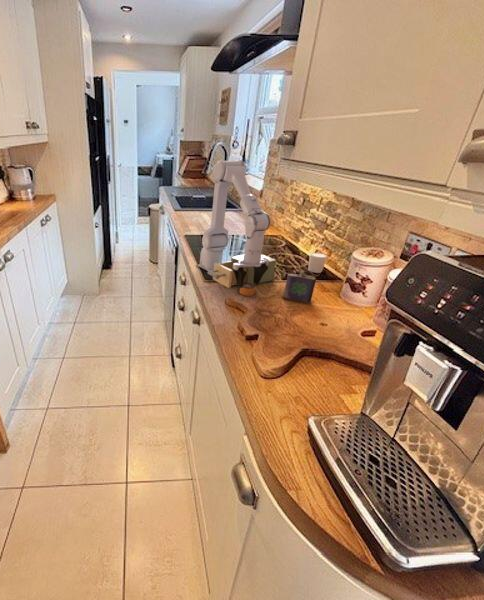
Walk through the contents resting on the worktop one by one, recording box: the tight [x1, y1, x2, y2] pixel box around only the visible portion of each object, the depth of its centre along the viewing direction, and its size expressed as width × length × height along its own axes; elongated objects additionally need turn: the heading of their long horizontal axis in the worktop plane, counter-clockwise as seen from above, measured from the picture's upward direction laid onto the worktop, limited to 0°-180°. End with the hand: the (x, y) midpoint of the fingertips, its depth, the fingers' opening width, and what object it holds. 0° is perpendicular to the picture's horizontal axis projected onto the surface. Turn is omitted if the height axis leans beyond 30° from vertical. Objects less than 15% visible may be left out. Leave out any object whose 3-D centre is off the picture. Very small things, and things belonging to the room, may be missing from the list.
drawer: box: [206, 260, 249, 289], centre depth 125 cm, size 17×9×7 cm, turn 119°
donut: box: [239, 283, 256, 297], centre depth 119 cm, size 5×5×3 cm
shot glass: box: [307, 252, 329, 274], centre depth 140 cm, size 7×7×7 cm
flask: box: [282, 270, 317, 304], centre depth 113 cm, size 9×3×11 cm, turn 65°
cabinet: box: [230, 253, 277, 286], centre depth 130 cm, size 14×11×9 cm
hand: (247, 285), depth 118 cm, fingers open, 7 cm apart
